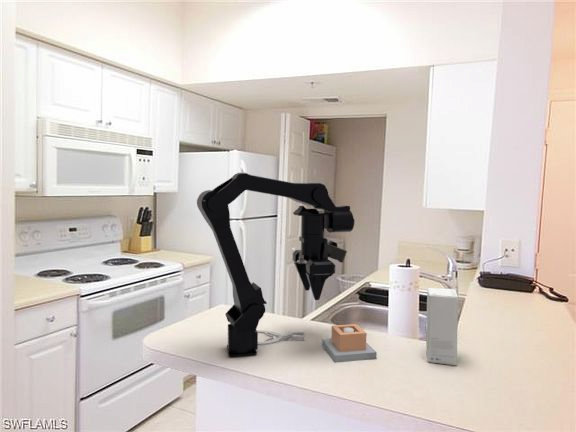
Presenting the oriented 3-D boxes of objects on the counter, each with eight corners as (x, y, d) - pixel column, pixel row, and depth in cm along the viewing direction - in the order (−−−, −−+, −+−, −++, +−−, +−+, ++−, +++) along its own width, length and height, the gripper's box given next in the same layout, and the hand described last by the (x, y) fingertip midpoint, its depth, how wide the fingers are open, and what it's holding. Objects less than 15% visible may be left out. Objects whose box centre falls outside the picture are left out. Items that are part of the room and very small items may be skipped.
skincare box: (456, 366, 93) (459, 297, 91) (425, 362, 95) (428, 294, 93) (453, 352, 101) (456, 288, 99) (424, 348, 103) (427, 286, 101)
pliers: (248, 326, 113) (303, 327, 113) (248, 332, 114) (303, 333, 114) (244, 340, 104) (304, 341, 104) (244, 346, 104) (304, 347, 104)
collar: (339, 351, 96) (340, 334, 96) (331, 341, 103) (331, 325, 102) (366, 349, 98) (366, 333, 97) (355, 339, 104) (356, 323, 104)
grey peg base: (334, 362, 94) (335, 338, 94) (322, 345, 104) (322, 323, 104) (376, 358, 96) (377, 335, 96) (359, 342, 106) (360, 321, 106)
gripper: (357, 237, 97) (355, 303, 98) (331, 228, 115) (330, 284, 116) (310, 238, 95) (309, 306, 96) (292, 229, 113) (291, 286, 114)
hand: (311, 294), depth 106 cm, fingers open, 9 cm apart
